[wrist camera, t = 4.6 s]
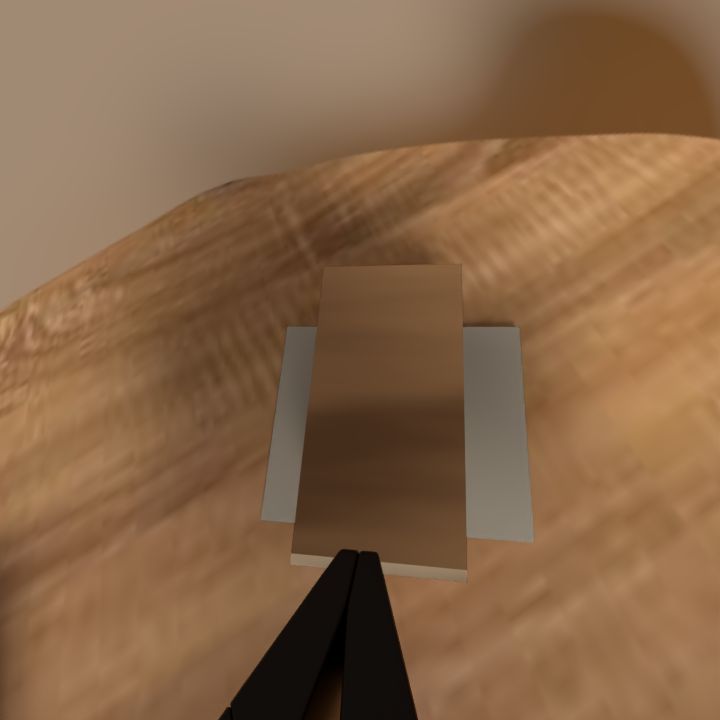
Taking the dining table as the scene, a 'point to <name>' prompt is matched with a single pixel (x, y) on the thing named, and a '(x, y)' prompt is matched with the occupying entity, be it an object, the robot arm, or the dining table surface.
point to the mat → (482, 433)
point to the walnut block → (386, 423)
